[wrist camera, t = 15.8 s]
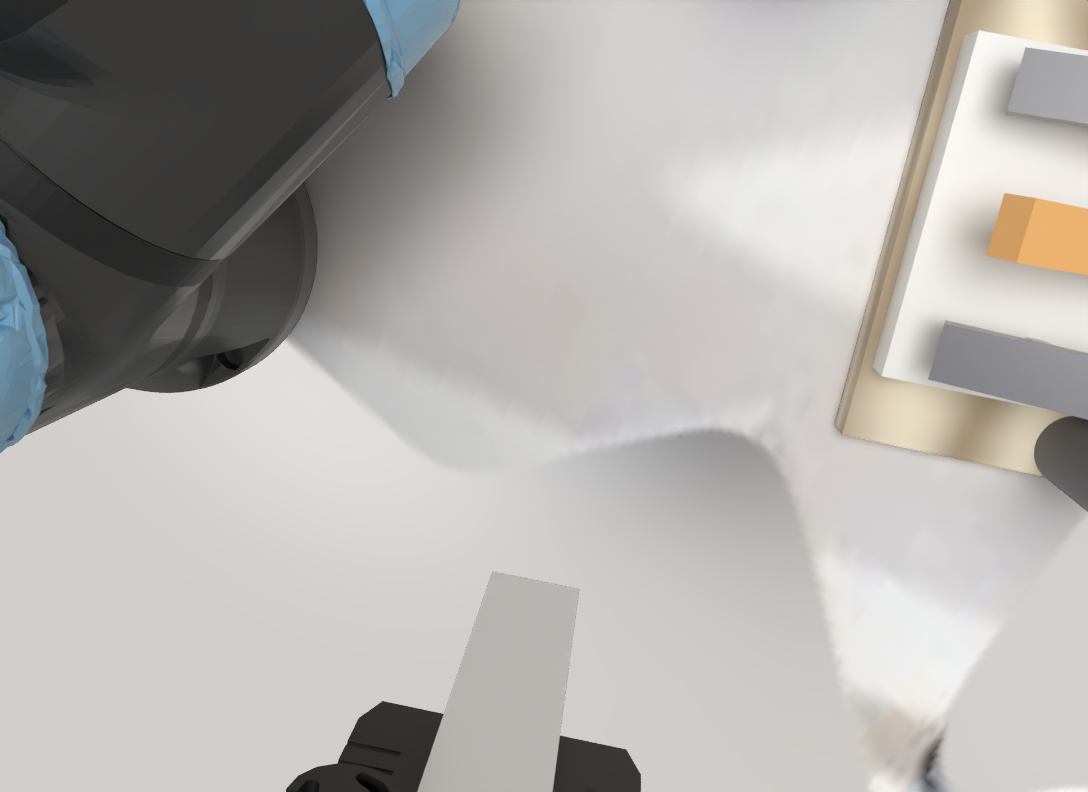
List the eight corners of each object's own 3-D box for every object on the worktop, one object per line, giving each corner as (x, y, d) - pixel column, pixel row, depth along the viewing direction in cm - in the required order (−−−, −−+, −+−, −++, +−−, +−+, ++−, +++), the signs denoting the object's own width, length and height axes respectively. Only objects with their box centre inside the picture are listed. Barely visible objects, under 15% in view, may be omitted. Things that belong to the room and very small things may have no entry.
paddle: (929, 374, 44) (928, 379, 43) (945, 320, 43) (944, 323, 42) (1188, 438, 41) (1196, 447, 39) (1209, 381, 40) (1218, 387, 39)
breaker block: (871, 367, 48) (897, 391, 43) (964, 35, 44) (1003, 21, 39) (1128, 419, 47) (1182, 449, 43) (1243, 87, 44) (1317, 80, 39)
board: (834, 423, 51) (842, 435, 49) (962, -44, 45) (976, -53, 43) (1096, 478, 50) (1114, 491, 48) (1257, 10, 45) (1285, 4, 43)
